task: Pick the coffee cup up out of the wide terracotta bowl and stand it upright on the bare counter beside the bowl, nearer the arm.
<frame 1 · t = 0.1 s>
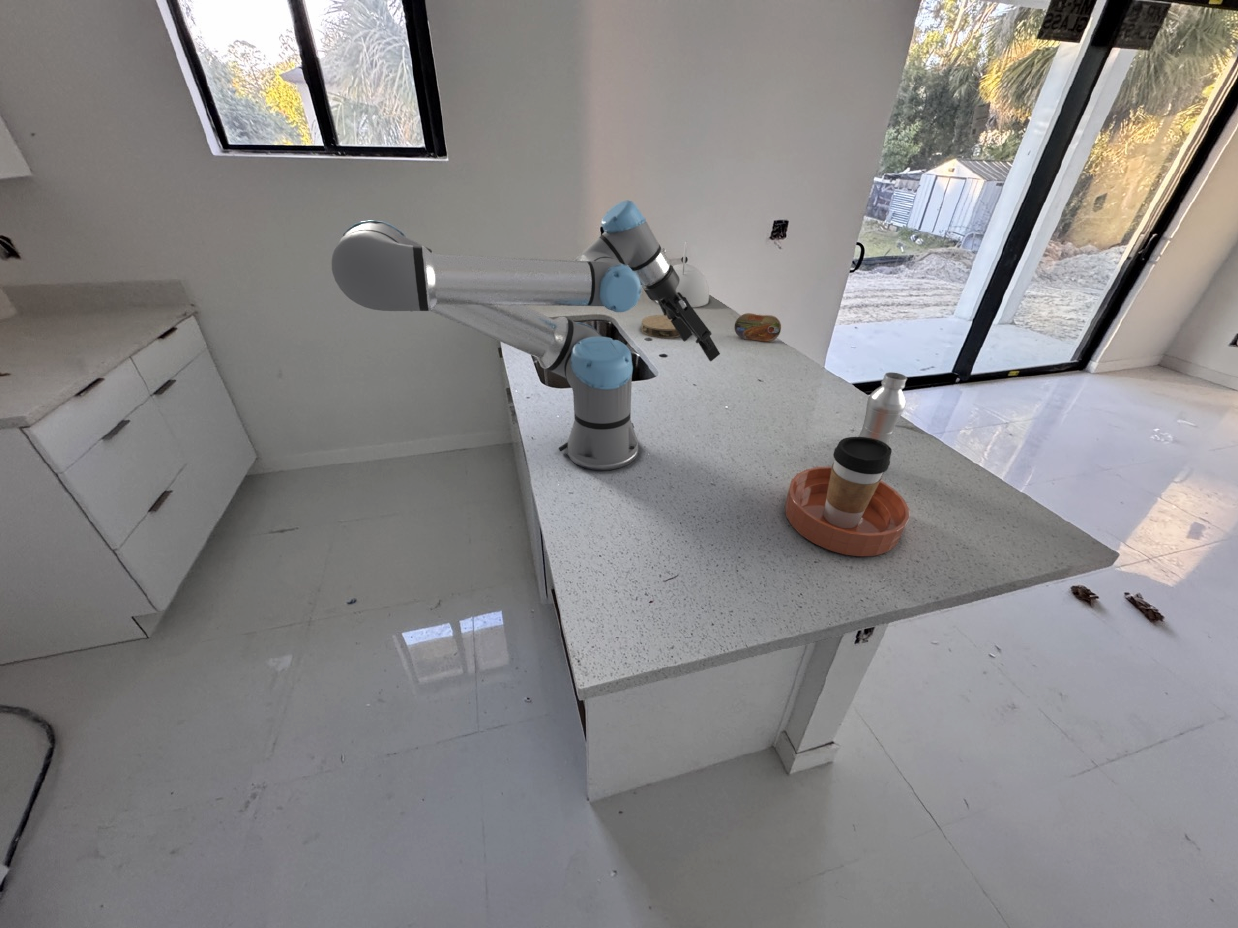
hand: (700, 347, 115), 15 cm above the counter, tool tilted 35°, fingers open, 13 cm apart
coffee cup: (840, 518, 87), resting on bowl
bowl: (840, 519, 87), on the counter
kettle: (681, 299, 205), on the counter
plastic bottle: (864, 466, 101), on the counter
round brown disc: (663, 330, 172), on the counter
tin: (755, 339, 165), on the counter
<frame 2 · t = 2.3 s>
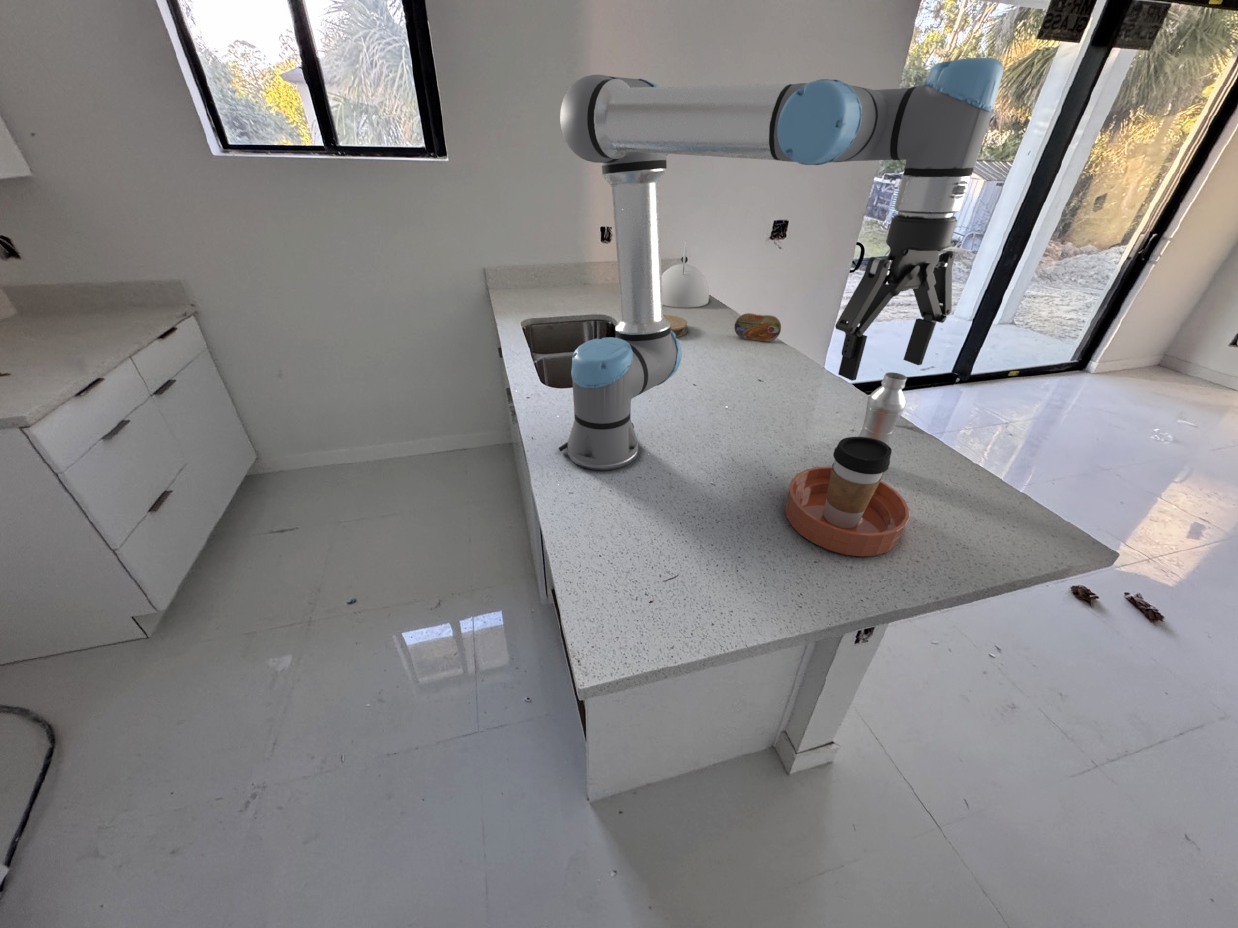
hand: (880, 369, 74), 27 cm above the counter, tool pointing down, fingers open, 13 cm apart
nothing on the counter moved.
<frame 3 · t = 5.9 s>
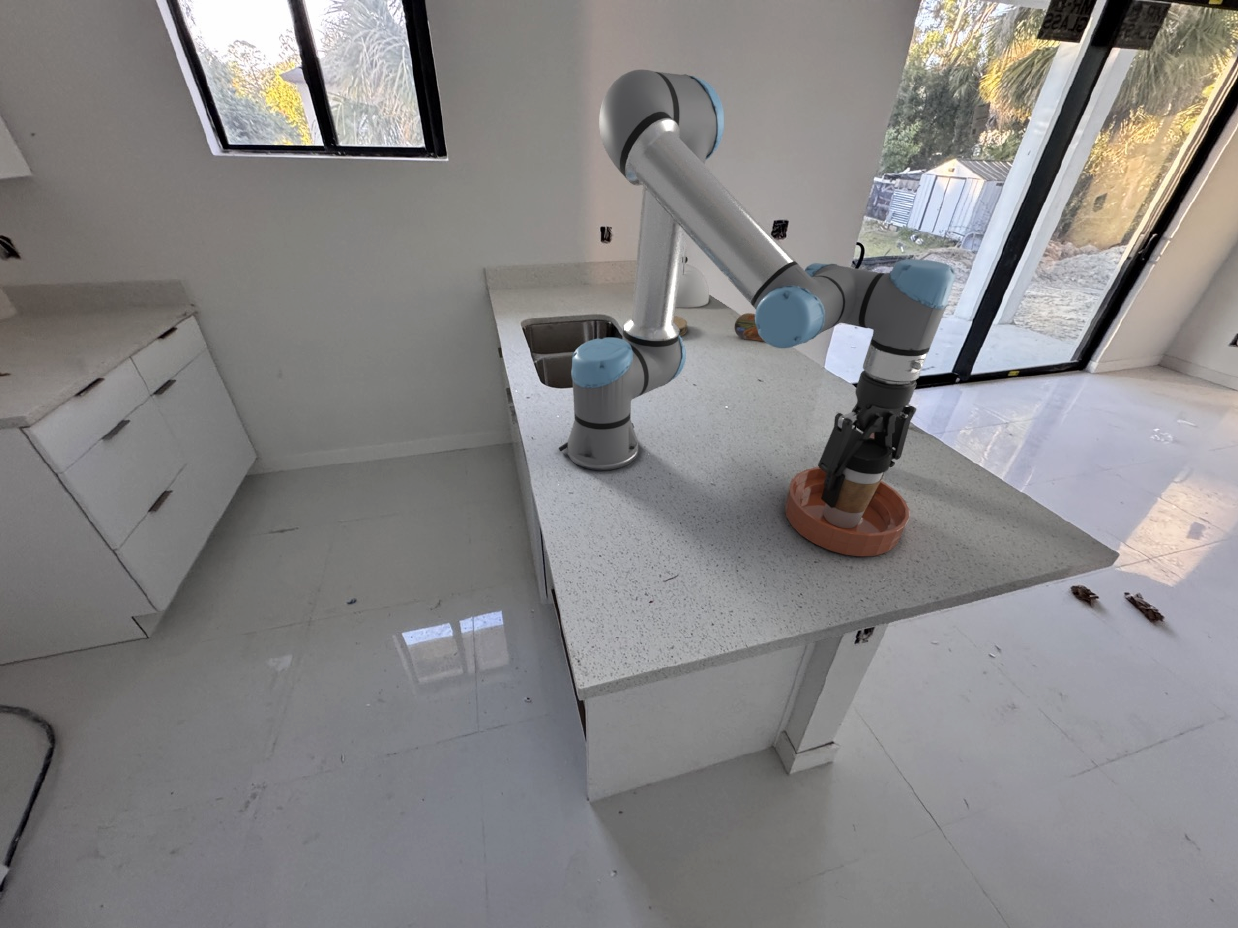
hand: (847, 498, 84), 5 cm above the counter, tool pointing down, fingers closed on coffee cup, 7 cm apart
coffee cup: (840, 518, 87), resting on bowl, touching gripper
everything else where it was.
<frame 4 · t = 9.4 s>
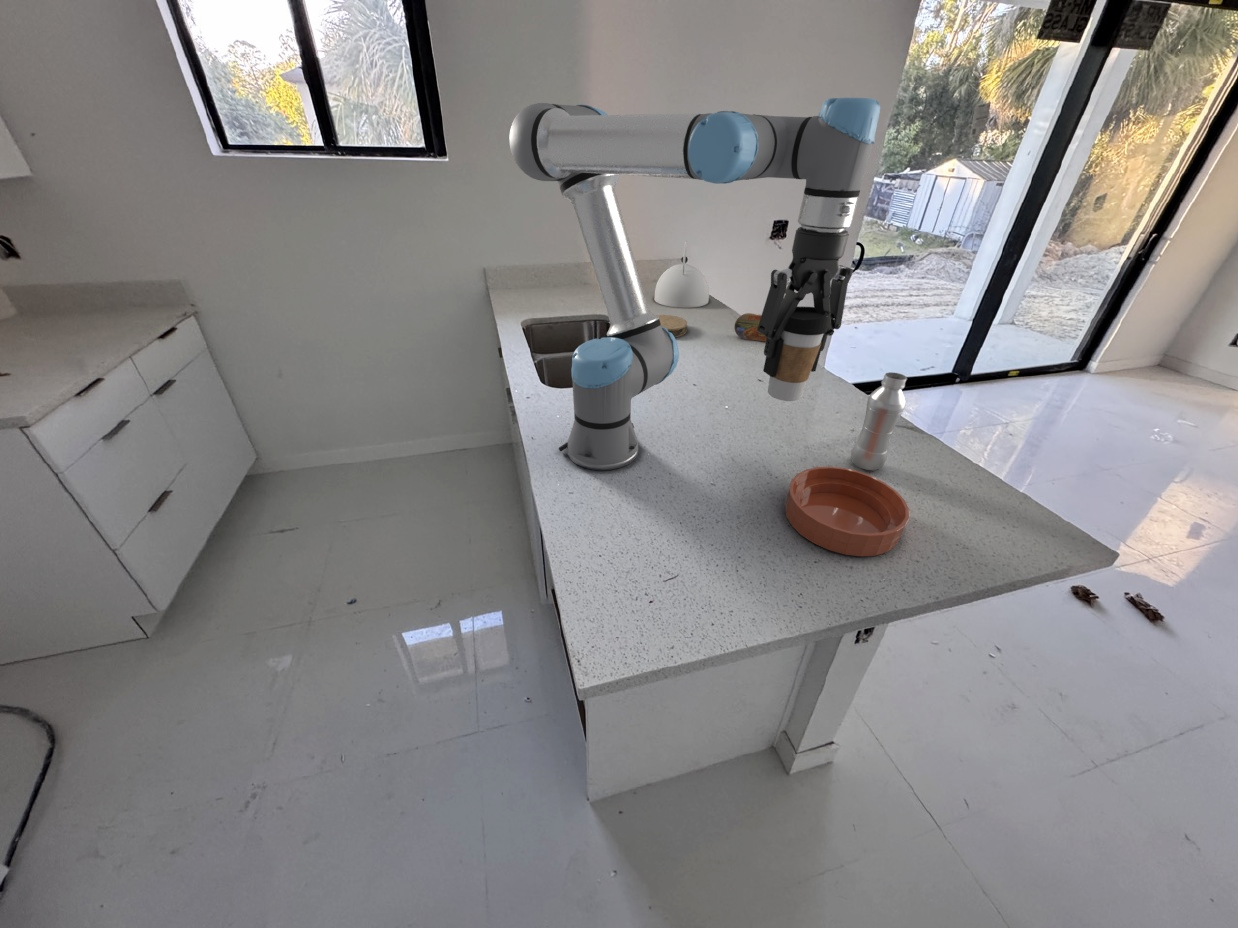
hand: (789, 371, 85), 23 cm above the counter, tool pointing down, fingers closed on coffee cup, 7 cm apart
coffee cup: (784, 394, 88), point 18 cm above the counter, touching gripper
everything else where it was.
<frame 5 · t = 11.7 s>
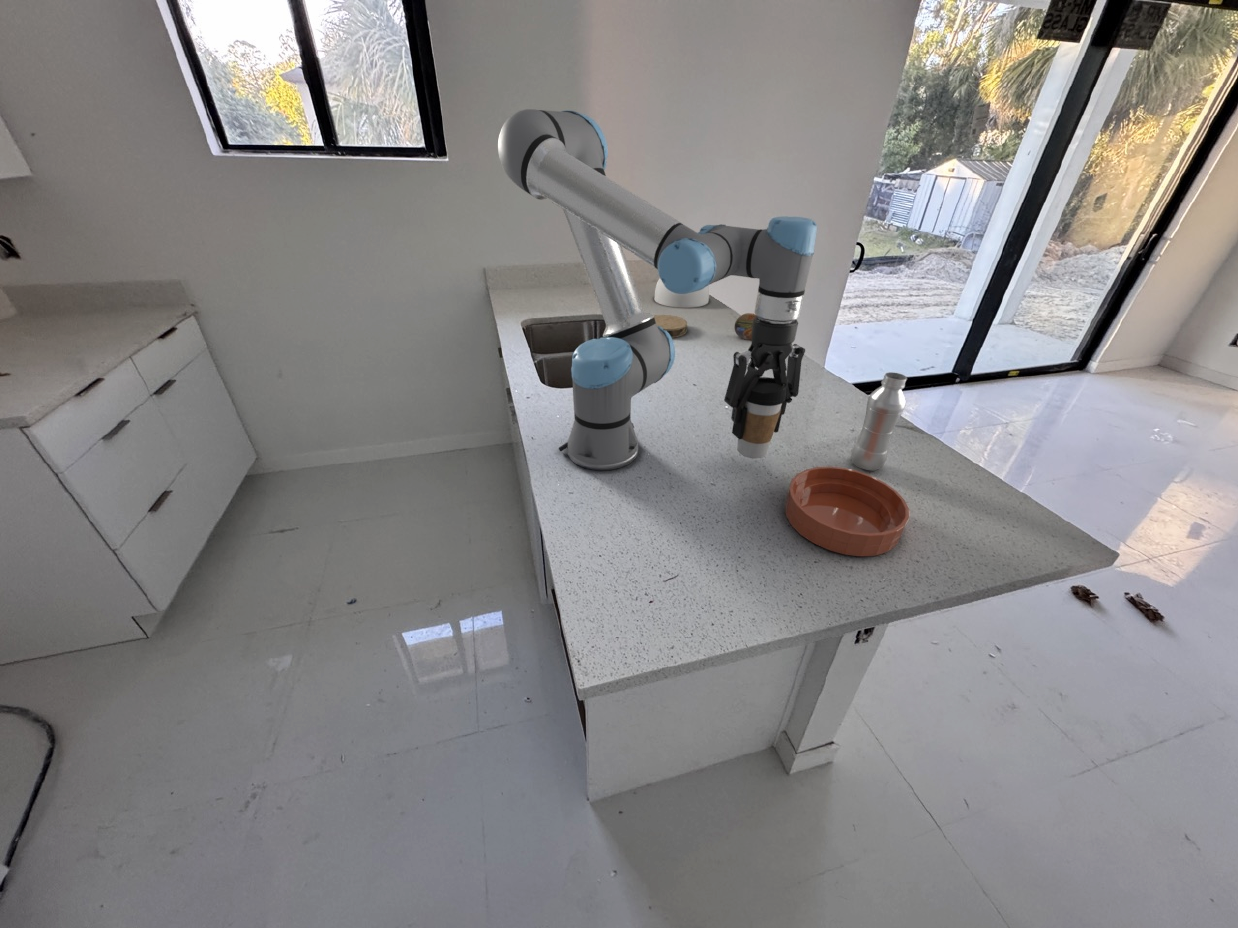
hand: (755, 432, 97), 8 cm above the counter, tool pointing down, fingers closed on coffee cup, 7 cm apart
coffee cup: (751, 451, 99), point 3 cm above the counter, touching gripper
everything else where it was.
when the fingers open (4 cm above the counter, at t = 13.2 s): coffee cup stays where it is, on the counter.
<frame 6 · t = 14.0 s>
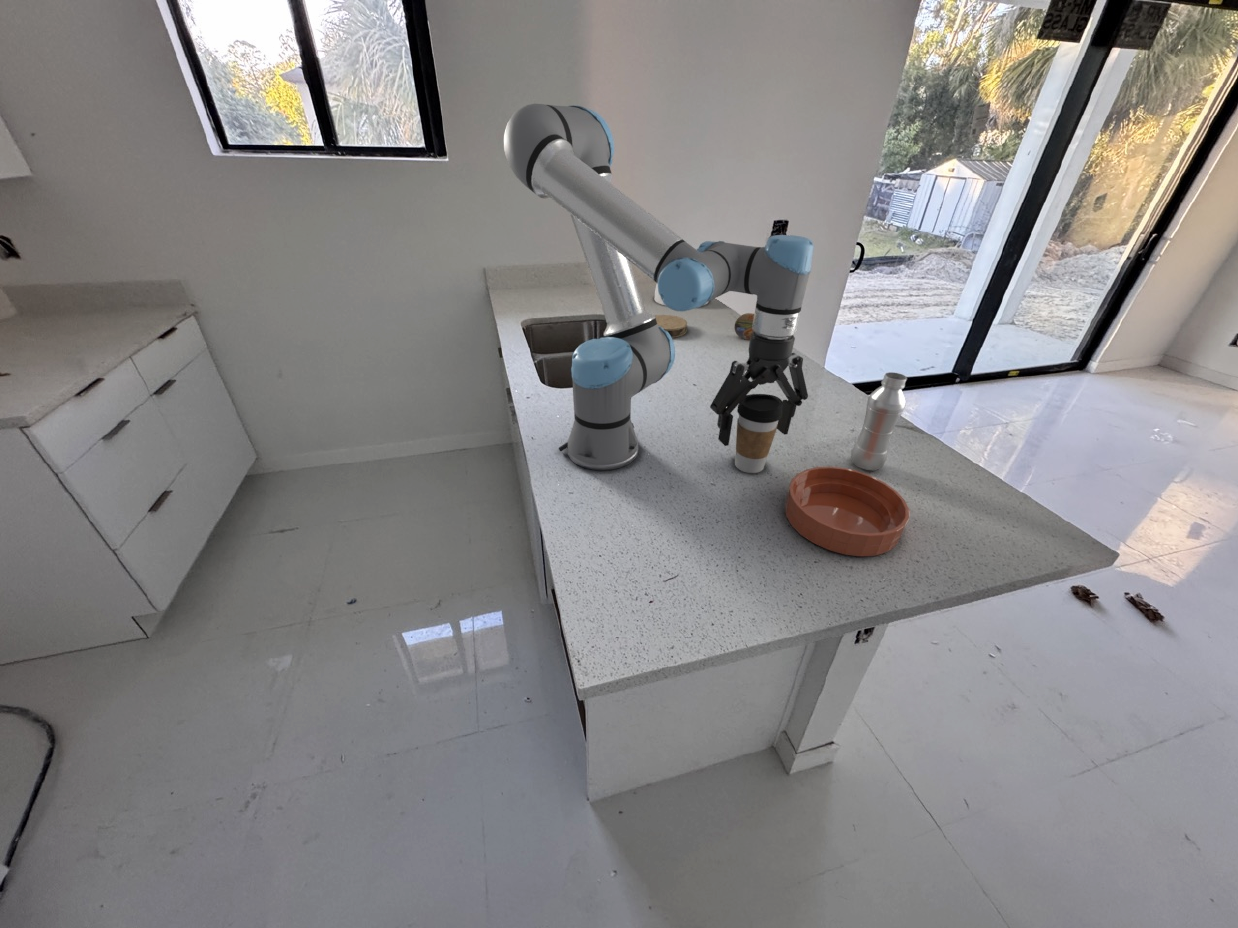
hand: (753, 436, 97), 7 cm above the counter, tool pointing down, fingers open, 13 cm apart
coffee cup: (749, 466, 101), on the counter
everything else where it was.
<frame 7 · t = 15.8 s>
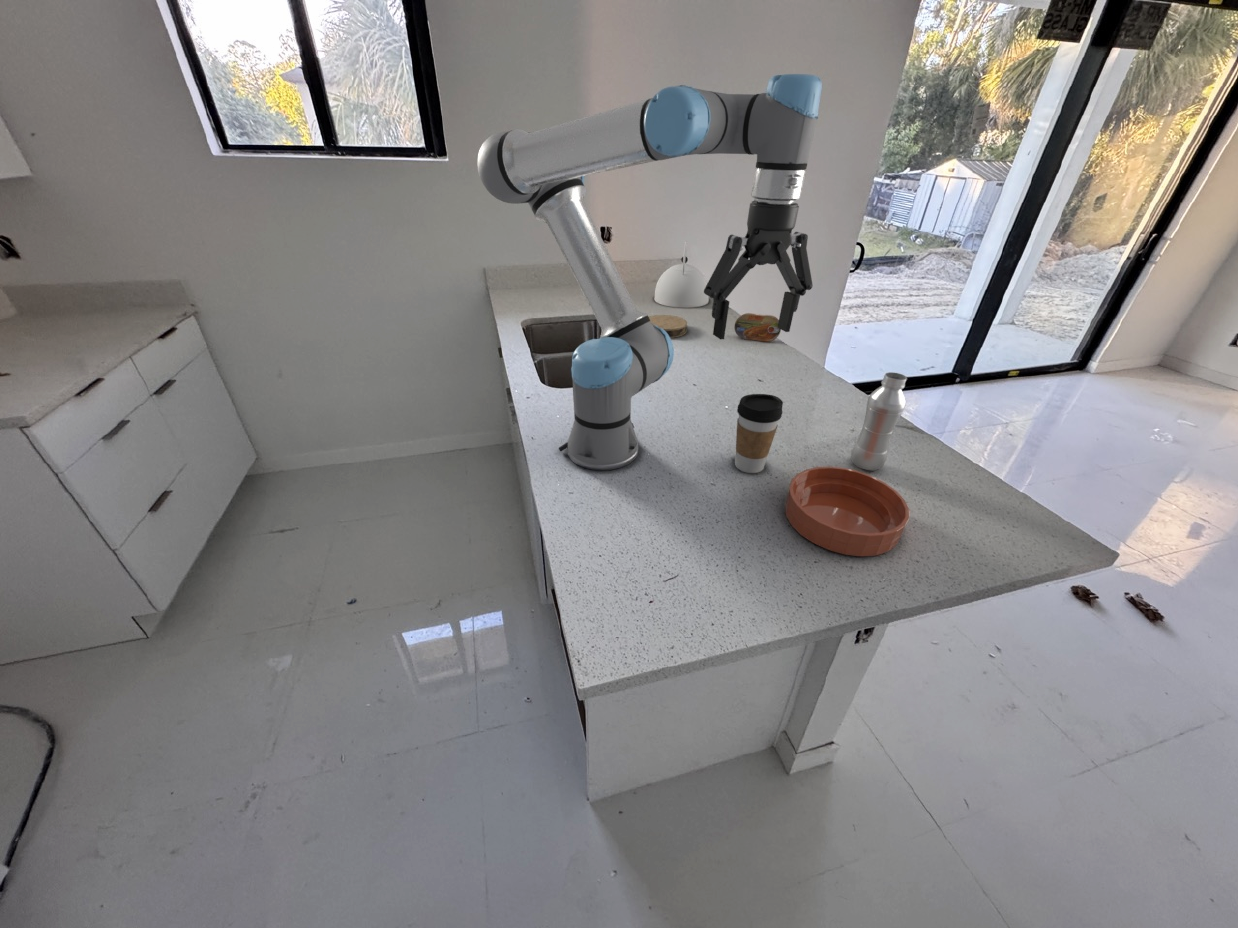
hand: (751, 333, 88), 27 cm above the counter, tool pointing down, fingers open, 13 cm apart
nothing on the counter moved.
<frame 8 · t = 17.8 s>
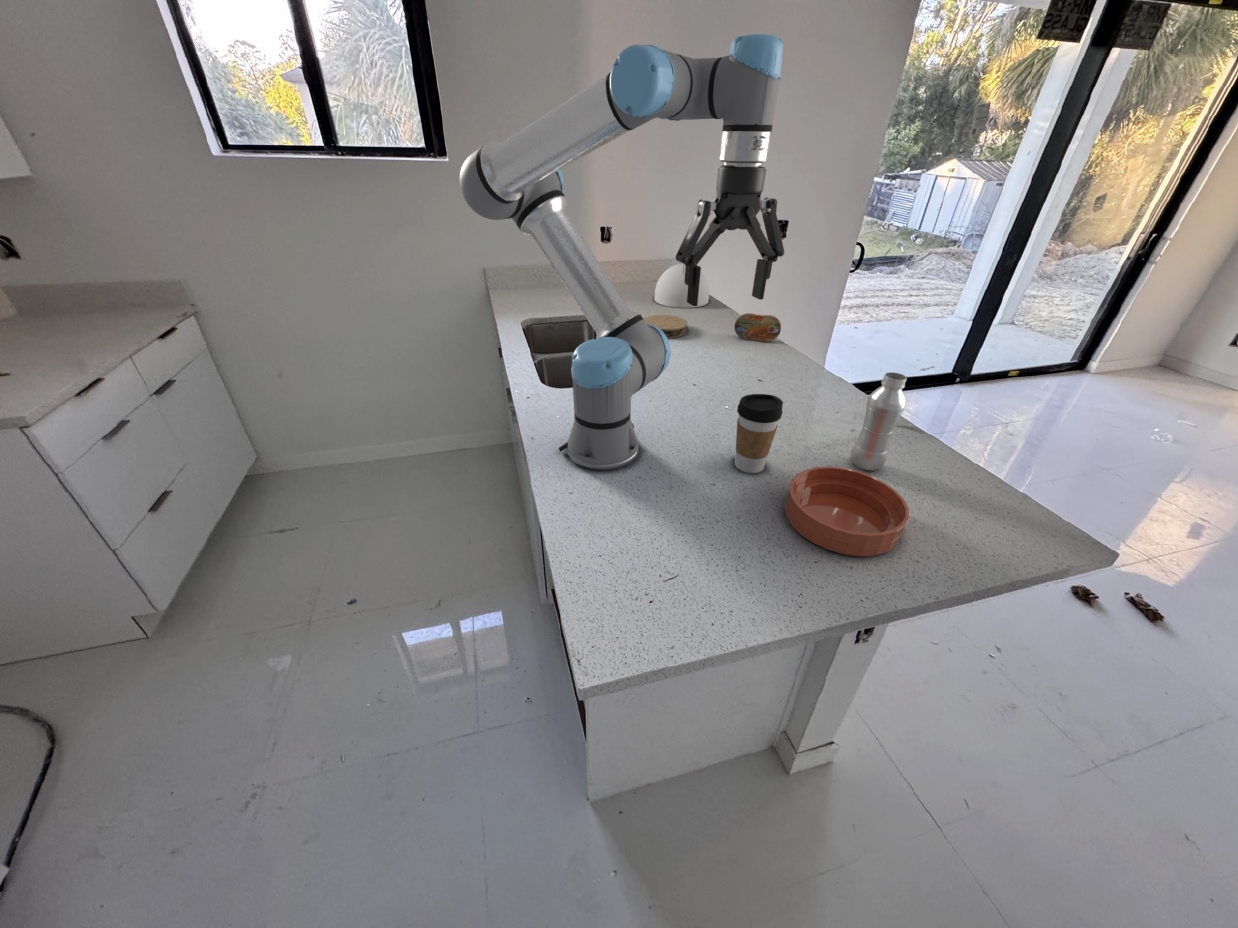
hand: (725, 301, 89), 32 cm above the counter, tool pointing down, fingers open, 13 cm apart
nothing on the counter moved.
at the end: coffee cup inside the target area (0.1 cm from its centre), on the counter; coffee cup tilted 0°; the gripper is holding nothing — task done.
